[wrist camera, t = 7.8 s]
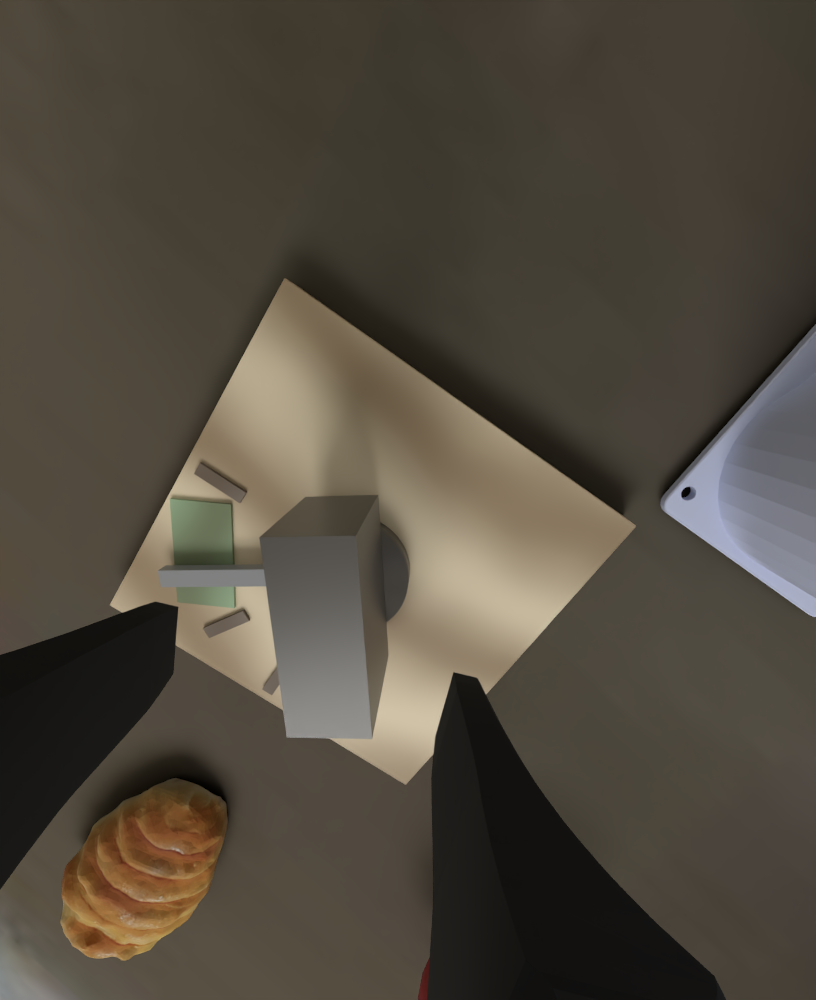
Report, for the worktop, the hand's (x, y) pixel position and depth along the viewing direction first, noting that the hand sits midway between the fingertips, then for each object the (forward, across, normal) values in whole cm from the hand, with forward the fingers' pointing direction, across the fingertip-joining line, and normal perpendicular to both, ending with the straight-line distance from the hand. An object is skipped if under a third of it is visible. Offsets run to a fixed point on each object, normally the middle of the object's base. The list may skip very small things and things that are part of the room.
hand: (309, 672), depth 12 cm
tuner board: (+8, 0, 0) cm, 8 cm away
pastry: (+8, +8, +18) cm, 22 cm away
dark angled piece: (+6, +3, +1) cm, 7 cm away
